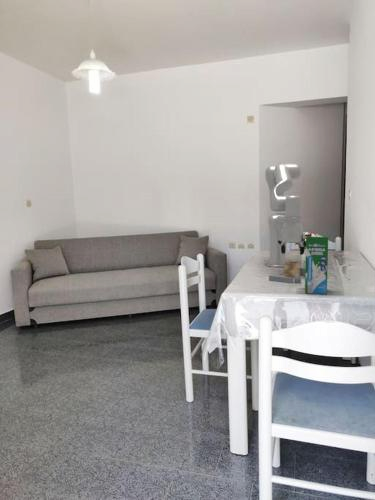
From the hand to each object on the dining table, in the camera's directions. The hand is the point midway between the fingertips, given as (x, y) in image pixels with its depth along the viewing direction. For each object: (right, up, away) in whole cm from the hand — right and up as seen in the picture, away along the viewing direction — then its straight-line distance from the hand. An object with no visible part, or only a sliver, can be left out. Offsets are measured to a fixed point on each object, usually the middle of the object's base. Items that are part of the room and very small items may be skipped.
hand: (292, 253), depth 196 cm
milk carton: (+4, -17, -25) cm, 30 cm away
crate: (0, -12, +2) cm, 12 cm away
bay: (-1, -13, -2) cm, 14 cm away
